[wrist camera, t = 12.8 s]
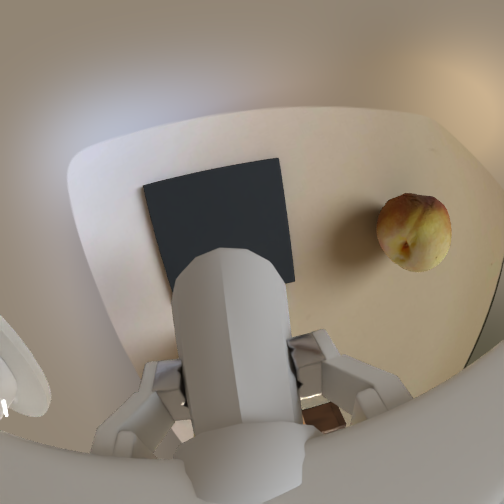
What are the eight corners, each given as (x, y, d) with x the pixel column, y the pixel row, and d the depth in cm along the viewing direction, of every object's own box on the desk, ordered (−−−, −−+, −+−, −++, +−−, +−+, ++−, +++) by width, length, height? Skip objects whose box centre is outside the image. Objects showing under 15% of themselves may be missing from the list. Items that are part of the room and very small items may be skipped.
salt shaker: (230, 338, 17) (259, 542, 5) (158, 287, 15) (96, 516, 3) (296, 277, 16) (417, 479, 4) (225, 212, 14) (275, 476, 2)
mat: (177, 302, 27) (176, 305, 26) (144, 185, 22) (142, 185, 22) (293, 279, 27) (295, 281, 27) (277, 157, 23) (278, 157, 22)
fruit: (365, 183, 25) (416, 197, 17) (423, 190, 26) (473, 206, 18) (356, 254, 27) (398, 288, 20) (413, 253, 28) (456, 281, 21)
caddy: (268, 451, 40) (273, 472, 35) (259, 420, 35) (264, 446, 31) (331, 434, 40) (340, 454, 36) (335, 400, 36) (346, 424, 31)
